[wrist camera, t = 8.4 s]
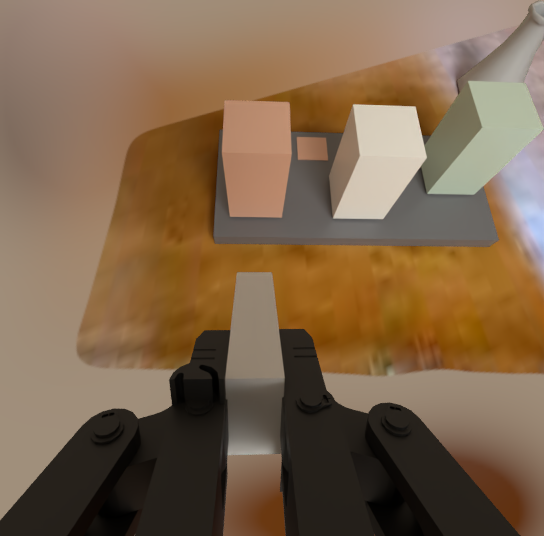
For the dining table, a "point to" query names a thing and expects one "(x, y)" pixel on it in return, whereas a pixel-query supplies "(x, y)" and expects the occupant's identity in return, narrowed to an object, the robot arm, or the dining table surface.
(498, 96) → the pale green tall block
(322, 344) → the dining table surface
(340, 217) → the cream tall block
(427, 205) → the grey board
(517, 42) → the flask
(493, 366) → the dining table surface
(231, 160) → the pink tall block
